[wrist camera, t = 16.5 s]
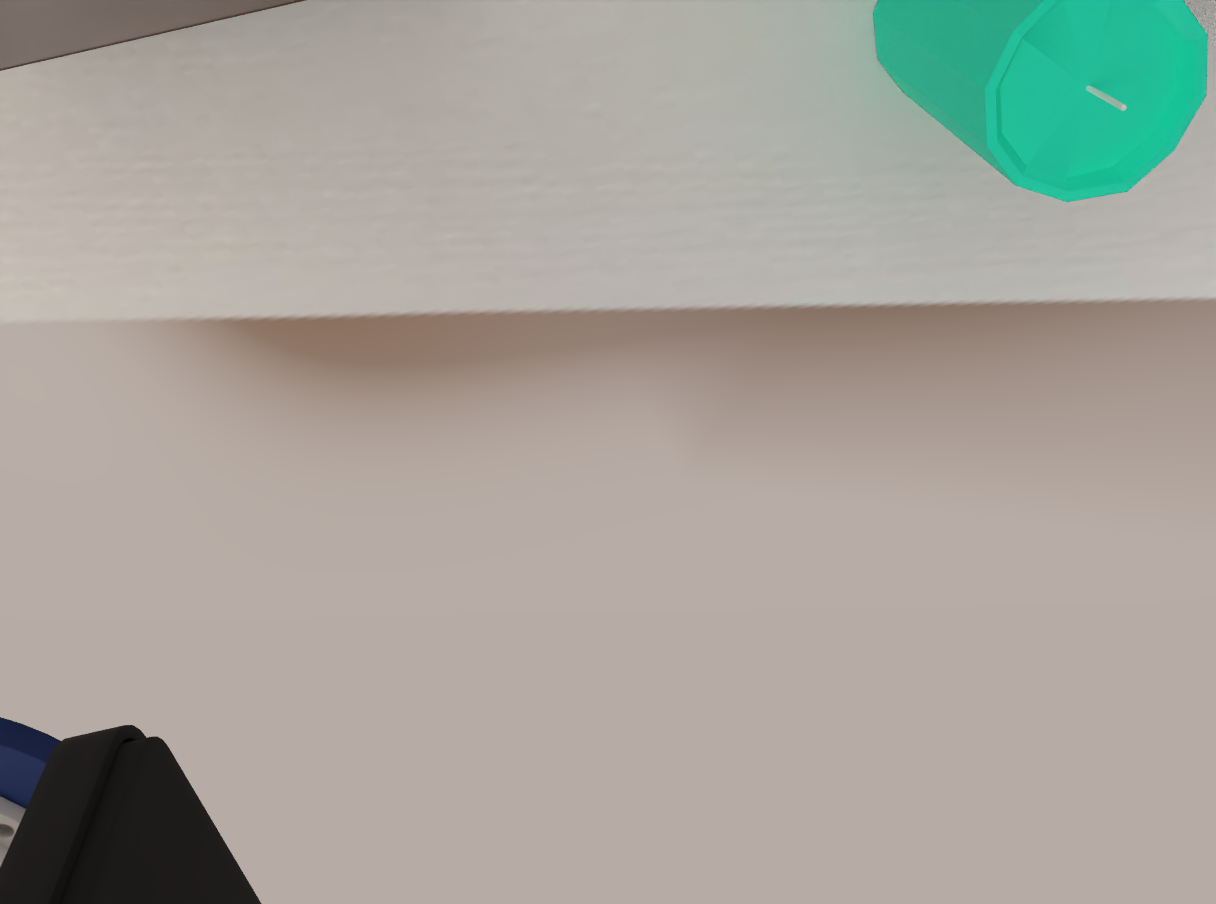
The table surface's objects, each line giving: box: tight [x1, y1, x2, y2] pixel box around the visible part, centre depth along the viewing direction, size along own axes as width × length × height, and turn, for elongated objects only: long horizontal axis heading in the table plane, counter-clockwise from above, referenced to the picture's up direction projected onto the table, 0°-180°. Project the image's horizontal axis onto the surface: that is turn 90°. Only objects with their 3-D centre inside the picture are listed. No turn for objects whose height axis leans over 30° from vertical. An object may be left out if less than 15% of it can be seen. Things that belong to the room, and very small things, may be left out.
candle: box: [873, 0, 1208, 202], centre depth 34 cm, size 6×6×12 cm
